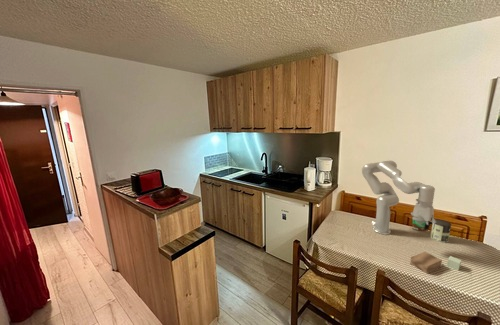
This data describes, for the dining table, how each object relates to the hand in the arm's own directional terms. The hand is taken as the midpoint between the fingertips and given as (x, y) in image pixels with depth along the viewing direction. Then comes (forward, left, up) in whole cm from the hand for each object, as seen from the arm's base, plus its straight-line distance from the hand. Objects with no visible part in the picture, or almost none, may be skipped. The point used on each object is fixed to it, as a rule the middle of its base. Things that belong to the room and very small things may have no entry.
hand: (421, 227), depth 135 cm
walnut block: (+11, -12, -18) cm, 25 cm away
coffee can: (-3, +30, -19) cm, 35 cm away
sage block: (+18, +3, -19) cm, 26 cm away
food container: (+1, 0, -2) cm, 2 cm away
